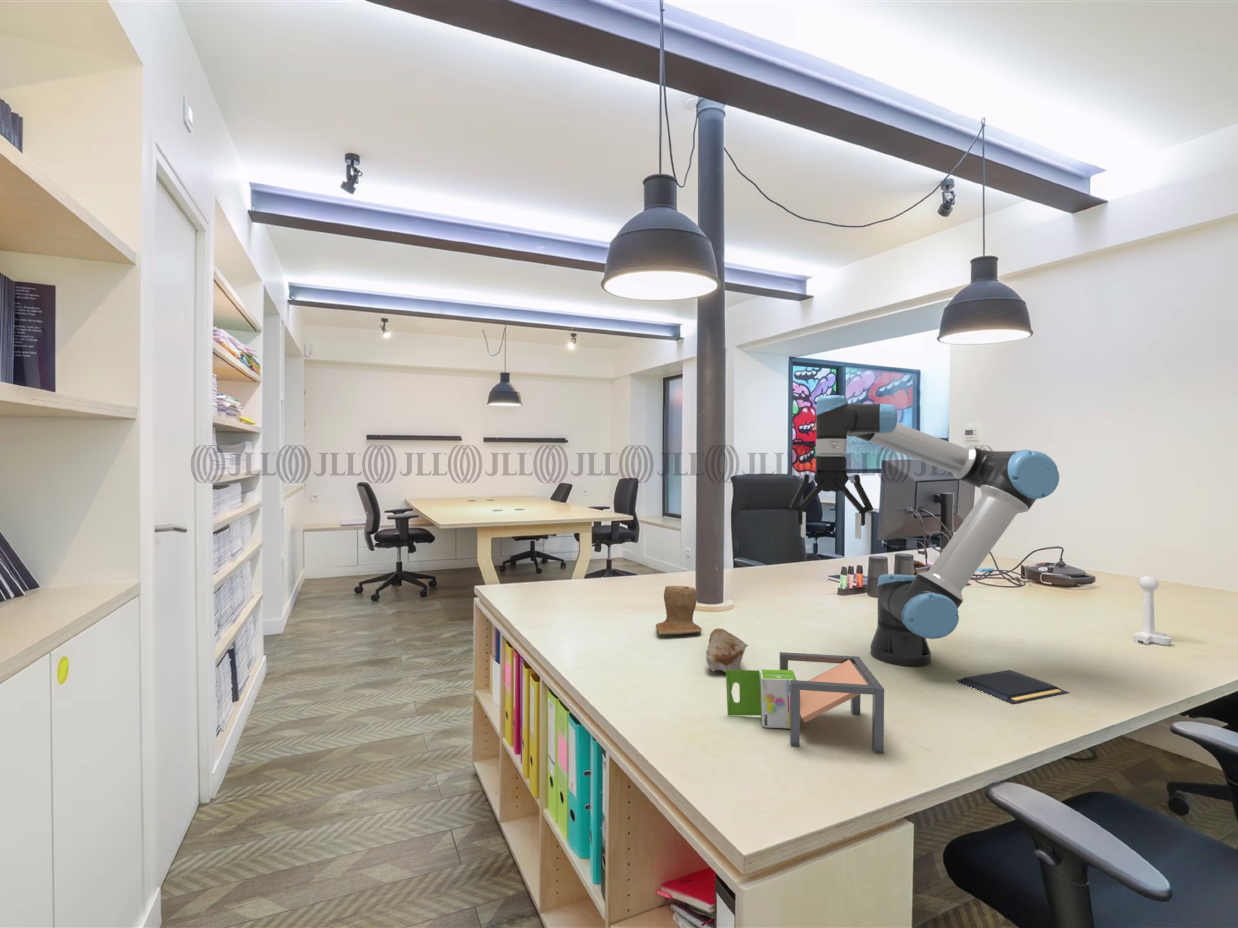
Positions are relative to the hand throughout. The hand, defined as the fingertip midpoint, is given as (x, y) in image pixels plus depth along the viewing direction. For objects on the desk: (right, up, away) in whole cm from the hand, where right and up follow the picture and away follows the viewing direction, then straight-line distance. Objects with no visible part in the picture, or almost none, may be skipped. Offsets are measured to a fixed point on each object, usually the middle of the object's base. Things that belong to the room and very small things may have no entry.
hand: (830, 537), depth 148 cm
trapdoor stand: (-13, -35, -31) cm, 49 cm away
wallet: (+41, -36, -9) cm, 55 cm away
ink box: (-18, -29, -30) cm, 46 cm away
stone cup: (-37, -35, +33) cm, 60 cm away
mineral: (-26, -35, +9) cm, 45 cm away
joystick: (+109, -36, +27) cm, 118 cm away
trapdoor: (-12, -26, -31) cm, 43 cm away
